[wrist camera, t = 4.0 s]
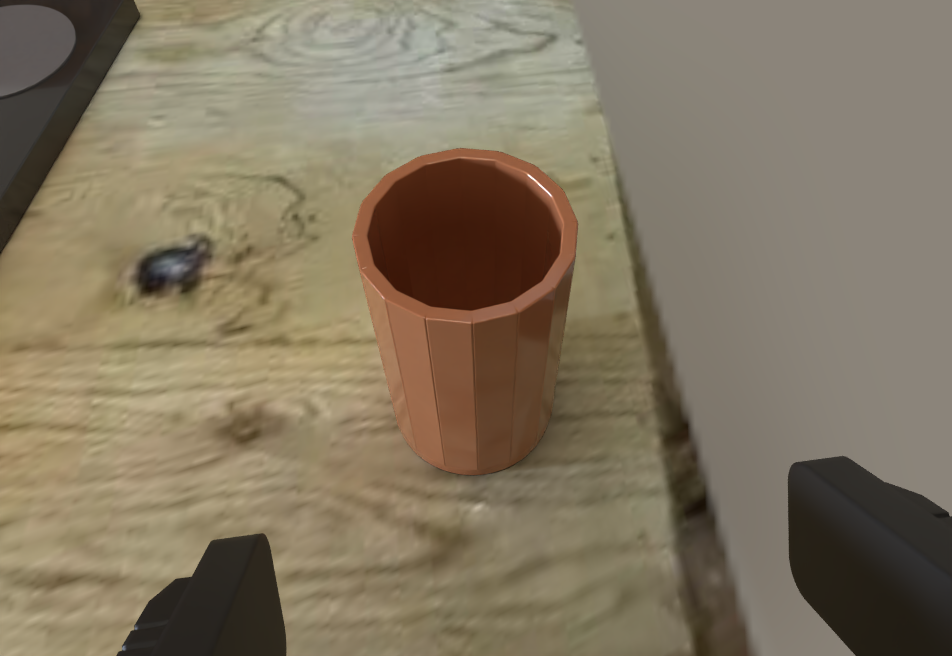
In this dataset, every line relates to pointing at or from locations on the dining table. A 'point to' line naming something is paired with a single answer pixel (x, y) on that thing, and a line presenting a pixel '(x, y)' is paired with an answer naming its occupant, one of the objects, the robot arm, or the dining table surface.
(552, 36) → the dining table surface
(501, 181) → the cup
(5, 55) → the stove
